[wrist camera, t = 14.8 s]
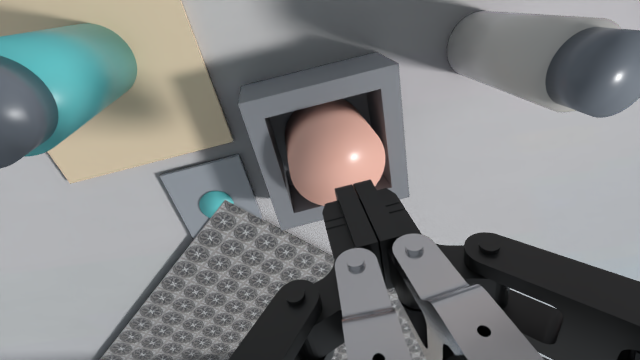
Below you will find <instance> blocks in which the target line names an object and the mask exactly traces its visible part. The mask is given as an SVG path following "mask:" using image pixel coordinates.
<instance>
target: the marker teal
mask: <svg viewBox="0 0 640 360" xmlns="http://www.w3.org/2000/svg"><path fill="white" fill-rule="evenodd" d="M136 76H137V63H136V59H135V57H134V54H133V52H132V50H131V49H130V47H129V46H128V44H127V43H126V42H125V41H124V40H123V39H122V38H121V37H120V36H119V35H118V34H116V33H115V32H113V31H112V30H110V29H108V28H106V27H103V26H100V25H97V24H91V23H83V24H76V25H70V26H63V27H57V28H51V29H44V30H38V31H32V32H26V33H19V34H13V35H7V36H1V37H0V168H3V167H7V166H9V165H11V164H13V163H15V162H17V161H18V160H19V159H21V158H22V157H24V156H34V155H38V154H42V153H45V152H47V151H49V150H51V149H52V148H54V147H56V146H57V145H58V144H59V143H61V142H62V141H63V140H65V139H66V138H67V137H69V136H70V135H71V134H72V133H74V132H75V131H76V130H78V129H79V128H80V127H82V126H83V125H84V124H85V123H87V122H88V121H89V120H91V119H92V118H93V117H94V116H96V115H97V114H98V113H100V112H101V111H102V110H104V109H105V108H106V107H107V106H109V105H110V104H111V103H113V102H114V101H115V100H117V99H118V98H119V97H120V96H122V95H123V94H124V93H126V92H127V91H128V90H129V89H130V88H131V87H132V86H133V84H134V82H135V80H136Z"/></svg>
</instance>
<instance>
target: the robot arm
mask: <svg viewBox="0 0 640 360" xmlns="http://www.w3.org/2000/svg"><path fill="white" fill-rule="evenodd" d="M335 195H336V200H337V201H333V202H329V203H326V204H325V206H324V209H323V212H322V214H323V218H324V222H325V226H326V230H327V234H328V238H329V242H330V246H331V250H332V253H333V257H334V265H333V267H332V269H331V271H330V272H329V273H328V274H327V275H326V276H325V277H324V278H322V279H321V280H319V281H317V282H315V283H312V282H310V281H308V280H302V279H300V280H294V281H291V282H289V283H287V284H285V285H284V286H283V287H281V288H280V290H279V291H278V292H277V293H276V295H275V296H274V298H273V299H272V300H271V302H270V303H269V304H268V306H267V307H266V309H265V310H264V311H263V313H262V314H261V315H260V317H259V318H258V320H257V321H256V322H255V324H254V325H253V327H252V328H251V329H250V331H249V332H248V333H247V335H246V336H245V338H244V339H243V340H242V342H241V343H240V344H239V346H238V347H237V349H236V350H235V351H234V353H233V354H232V355H231V357H230V358H229V360H331V359H332V357H333V355H334V351H335V349H336V348H337V347H339V346H340V345H342V344H343V343H345V346H346V353H347V360H411V357H410V354H409V351H408V348H407V345H406V342H405V338H404V335H403V332H402V329H401V326H400V323H399V319H398V316H397V314H396V311H395V309H393V308H392V305H391V302H390V299H389V296H388V292H387V289H391V288H395V291H396V293H397V295H398V303H399V307H400V309H401V311H402V313H403V315H404V317H405V319H406V321H407V323H408V325H409V327H410V328H411V330H412V332H413V334H414V336H415V338H416V340H417V342H418V344H419V346H420V347H421V349H422V351H423V353H424V355H425V358H426V360H549V359H546V358H544V357H542V356H541V355H540V354H539V353H541V354H543V355H545V356H547V357H549V358H551V359H553V360H640V282H639V281H636V280H633V279H630V278H627V277H624V276H621V275H618V274H615V273H612V272H609V271H606V270H603V269H600V268H597V267H594V266H591V265H588V264H585V263H582V262H579V261H576V260H573V259H570V258H567V257H564V256H561V255H558V254H555V253H552V252H549V251H546V250H543V249H540V248H537V247H534V246H531V245H528V244H525V243H522V242H519V241H516V240H513V239H509V238H506V237H503V236H500V235H497V234H494V233H477V234H474V235H471V236H470V237H468V238H467V240H466V241H465V244H464V246H446V245H439V244H435V242H434V241H433V240H432V239H430V238H429V237H427V236H425V235H422V234H421V233H420V231H419V230H418V228H417V226H416V225H415V223H414V222H413V220H412V219H411V217H410V215H409V214H408V212H407V211H406V210H405V208H404V206H403V204H402V203H401V201H400V200H399V198H398V197H397V195H396V194H395V193H394V192H392V191H390V190H389V189H387V188H384V189H380V190H376V188H375V186H374V184H373V183H372V181H371V180H366V181H362V182H358V183H354V184H353V185H352V184H350V185H346V186H342V187H338V188H335ZM510 288H512V289H514V290H517V291H519V292H521V293H524V294H526V295H529V296H531V297H533V298H536V299H538V300H540V301H543V302H545V303H548V304H550V305H552V306H554V307H555V308H557V309H555V308H552V307H550V306H548V305H545V304H543V303H541V302H538V301H536V300H534V299H531V298H529V297H527V296H524V295H522V294H519V293H517V292H515V291H512V290H510ZM538 352H539V353H538Z"/></svg>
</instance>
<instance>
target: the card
mask: <svg viewBox="0 0 640 360" xmlns="http://www.w3.org/2000/svg"><path fill="white" fill-rule="evenodd" d="M160 178H161V180H162V182H163V184H164V185H165V187H166V189H167V191H168V193H169V195H170V197H171V198H172V200H173V202H174V204H175V206H176V208H177V210H178V211H179V213H180V215H181V217H182V219H183V221H184V223H185V224H186V226H187V228H188V230H189V232H190V234H191V236H192V237H193V239H195V237H196V236H197V235H198V234H199V232H200V231H201V230H202V229H203V227H204V226H205V225H206V223H207V222H208V221H209V220H210V218H211V217H212V216H213V215H214V213H215V212H216V211H217V209H218V208H219V207H220V206H221V204H222V203H223V202H224V200H227V201H228V202H230V203H232V204H234V205H236V206H238V207H240V208H242V209H244V210H246V211H247V212H249V213H251V214H253V215H255V216H257V217H259V218H261V219H263V217H262V214H261V212H260V209H259V206H258V204H257V201H256V198H255V196H254V193H253V190H252V188H251V185H250V182H249V180H248V177H247V174H246V172H245V169H244V166H243V164H242V161H241V158H240V156H239V154H237V155H234V156H230V157H226V158H222V159H218V160H214V161H210V162H206V163H202V164H199V165H195V166H191V167H187V168H183V169H179V170H175V171H171V172H168V173H164V174H161V175H160Z"/></svg>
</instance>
